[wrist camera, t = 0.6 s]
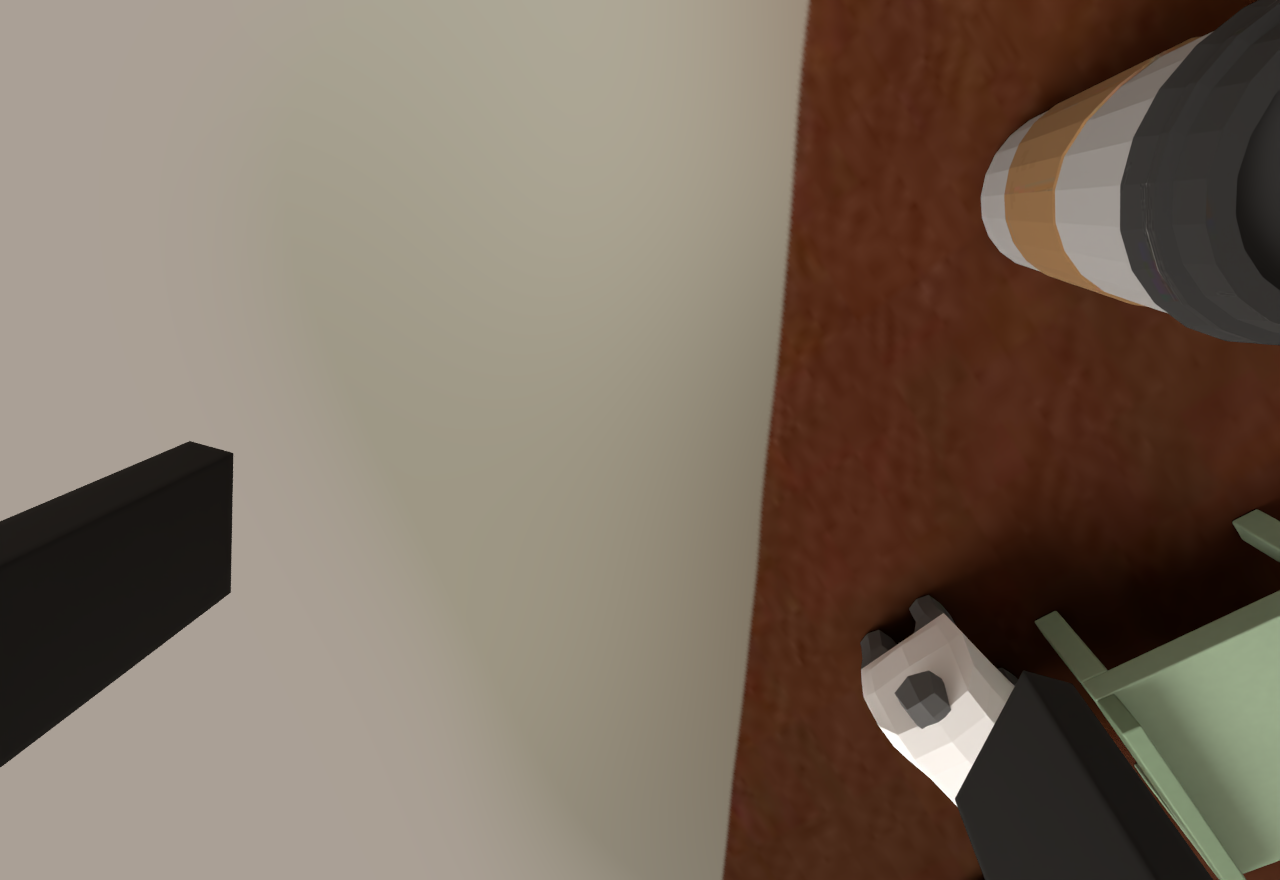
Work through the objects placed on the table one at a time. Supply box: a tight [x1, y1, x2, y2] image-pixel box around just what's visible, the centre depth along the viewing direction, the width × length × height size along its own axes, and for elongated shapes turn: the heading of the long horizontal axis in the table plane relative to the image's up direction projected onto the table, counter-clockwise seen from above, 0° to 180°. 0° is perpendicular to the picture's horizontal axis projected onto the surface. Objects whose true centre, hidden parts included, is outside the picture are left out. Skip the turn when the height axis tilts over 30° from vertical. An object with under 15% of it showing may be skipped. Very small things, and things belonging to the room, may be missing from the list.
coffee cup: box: [981, 0, 1280, 345], centre depth 21 cm, size 8×8×15 cm
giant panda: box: [860, 595, 1018, 806], centre depth 31 cm, size 15×6×10 cm, turn 45°
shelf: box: [1035, 509, 1280, 880], centre depth 30 cm, size 11×12×8 cm
